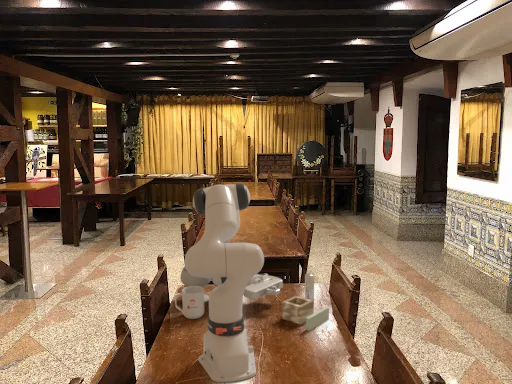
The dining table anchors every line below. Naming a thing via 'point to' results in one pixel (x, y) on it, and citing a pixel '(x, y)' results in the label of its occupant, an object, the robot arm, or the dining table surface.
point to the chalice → (194, 281)
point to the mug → (192, 302)
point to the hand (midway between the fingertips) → (278, 292)
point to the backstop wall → (317, 318)
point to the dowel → (309, 286)
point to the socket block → (297, 309)
